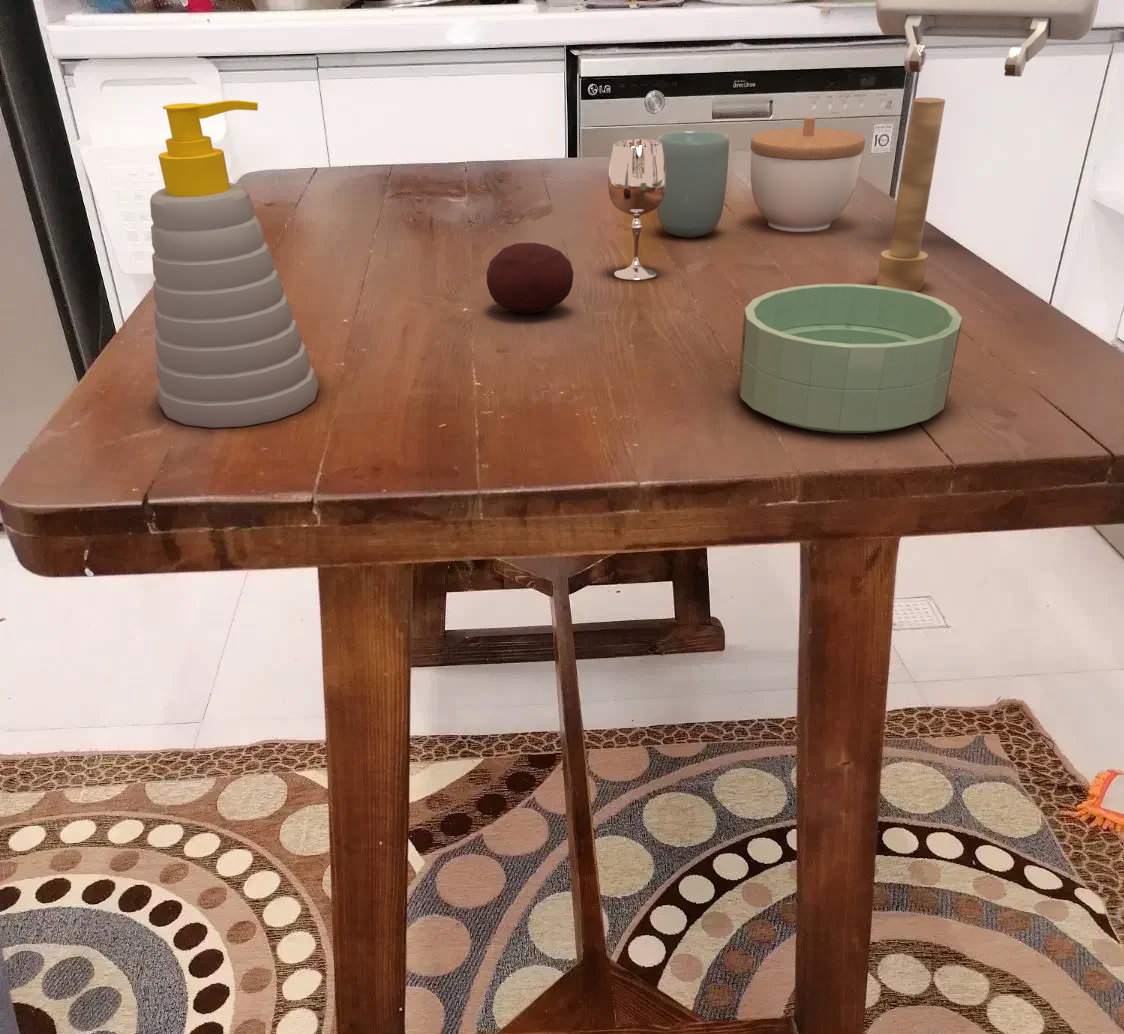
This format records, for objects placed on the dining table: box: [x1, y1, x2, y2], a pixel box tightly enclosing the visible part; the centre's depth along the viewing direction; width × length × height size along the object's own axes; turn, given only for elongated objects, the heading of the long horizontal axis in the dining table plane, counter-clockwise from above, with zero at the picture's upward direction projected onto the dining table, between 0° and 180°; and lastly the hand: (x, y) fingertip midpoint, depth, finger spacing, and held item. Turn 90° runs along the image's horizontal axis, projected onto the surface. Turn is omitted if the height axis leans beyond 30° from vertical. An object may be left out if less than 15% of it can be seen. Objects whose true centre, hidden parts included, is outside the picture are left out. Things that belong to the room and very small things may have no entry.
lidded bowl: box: [750, 116, 866, 233], centre depth 126 cm, size 13×13×11 cm
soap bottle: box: [149, 99, 320, 429], centre depth 81 cm, size 12×12×20 cm
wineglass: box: [607, 138, 667, 281], centre depth 110 cm, size 6×6×12 cm
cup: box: [656, 129, 730, 239], centre depth 124 cm, size 8×8×10 cm
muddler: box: [875, 97, 946, 292], centre depth 103 cm, size 4×4×16 cm
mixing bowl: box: [738, 283, 963, 434], centre depth 82 cm, size 15×15×6 cm
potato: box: [486, 242, 575, 314], centre depth 102 cm, size 7×8×6 cm
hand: (961, 69), depth 104 cm, fingers open, 8 cm apart
